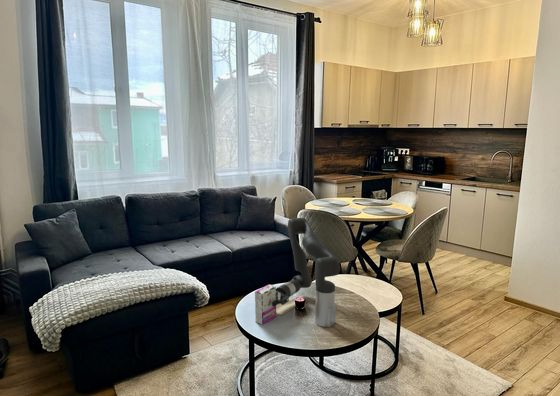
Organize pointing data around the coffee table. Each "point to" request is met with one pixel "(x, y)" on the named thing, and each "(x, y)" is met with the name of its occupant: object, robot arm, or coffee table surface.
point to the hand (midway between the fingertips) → (266, 302)
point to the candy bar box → (265, 304)
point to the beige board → (285, 307)
